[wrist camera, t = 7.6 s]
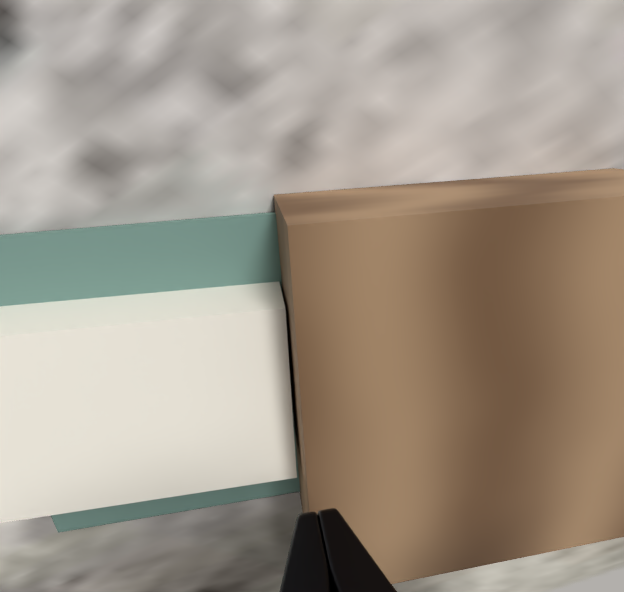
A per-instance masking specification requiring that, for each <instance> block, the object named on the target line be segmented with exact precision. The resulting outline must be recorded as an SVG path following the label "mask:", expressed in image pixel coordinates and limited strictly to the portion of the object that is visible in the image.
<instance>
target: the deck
mask: <svg viewBox="0 0 624 592" xmlns="http://www.w3.org/2000/svg"><path fill="white" fill-rule="evenodd" d="M274 204H275V213H276V220H277V232H278V243H279V255H280V266H281V278H282V289H283V300H284V304H285V310H286V325H287V339H288V354H289V369H290V380H291V392H292V403H293V415H294V426H295V438H296V449H297V461H298V472H299V483H300V497H301V504H302V510H303V513H307V512H312V511H314V512H316V513H318V511H320V510H324V509H330V508H336V509H337V510H338V511H339V512H340V514H341V515H342V516H343V518H344V519H345V521H346V522H347V523H348V525H349V526H350V528H351V529H352V530H353V532H354V533H355V534H356V536H357V537H358V539H359V540H360V541H361V543H362V544H363V546H364V547H365V548H366V550H367V551H368V553H369V554H370V555H371V557H372V558H373V559H374V561H375V562H376V564H377V565H378V566H379V568H380V569H381V571H382V572H383V573H384V575H385V576H386V577H387V579H388V580H389V582H390V583H391V584H394V583H399V582H404V581H409V580H414V579H419V578H424V577H429V576H434V575H439V574H443V573H448V572H453V571H458V570H463V569H468V568H473V567H478V566H483V565H487V564H492V563H497V562H502V561H507V560H512V559H517V558H522V557H527V556H532V555H536V554H541V553H546V552H551V551H556V550H561V549H566V548H571V547H576V546H581V545H585V544H590V543H595V542H600V541H605V540H610V539H615V538H620V537H624V170H623V169H614V168H613V169H600V170H587V171H574V172H561V173H548V174H536V175H523V176H510V177H497V178H484V179H471V180H458V181H445V182H432V183H419V184H407V185H394V186H381V187H368V188H355V189H342V190H329V191H316V192H303V193H290V194H278V195H274Z"/></svg>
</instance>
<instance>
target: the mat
mask: <svg viewBox="0 0 624 592" xmlns="http://www.w3.org/2000/svg"><path fill="white" fill-rule="evenodd" d="M268 282H279V283H280V287H281V291H282V296H283V289H282V278H281V266H280V255H279V243H278V232H277V220H276V213H275V212H270V213H258V214H246V215H234V216H222V217H210V218H198V219H186V220H174V221H162V222H149V223H137V224H125V225H113V226H101V227H89V228H77V229H65V230H53V231H41V232H29V233H17V234H5V235H0V306H10V305H21V304H32V303H44V302H55V301H66V300H77V299H89V298H100V297H111V296H122V295H133V294H145V293H156V292H167V291H178V290H189V289H201V288H212V287H223V286H234V285H245V284H257V283H268ZM290 383H291V380H290ZM291 398H292V392H291ZM292 412H293V403H292ZM293 427H294V442H295V456H296V471H297V478H292V479H285V480H279V481H272V482H266V483H259V484H253V485H246V486H240V487H233V488H227V489H220V490H214V491H207V492H200V493H194V494H187V495H181V496H174V497H168V498H161V499H155V500H148V501H142V502H135V503H129V504H122V505H116V506H109V507H103V508H96V509H90V510H83V511H77V512H70V513H64V514H57V515H51V517H52V519H53V522H54V524H55V526H56V528H57V531H58V532H64V531H70V530H76V529H82V528H87V527H93V526H99V525H105V524H111V523H117V522H123V521H129V520H135V519H140V518H146V517H152V516H158V515H164V514H170V513H176V512H182V511H188V510H194V509H199V508H205V507H211V506H217V505H223V504H229V503H235V502H241V501H247V500H252V499H258V498H264V497H270V496H276V495H282V494H288V493H294V492H300V483H299V472H298V461H297V449H296V438H295V426H294V415H293Z"/></svg>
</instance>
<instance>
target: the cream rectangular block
mask: <svg viewBox="0 0 624 592" xmlns="http://www.w3.org/2000/svg"><path fill="white" fill-rule="evenodd" d="M292 478H297V471H296V456H295V442H294V427H293V412H292V398H291V383H290V369H289V354H288V339H287V325H286V310H285V304H284V300H283V296H282V291H281V287H280V283H279V282H268V283H257V284H245V285H234V286H223V287H212V288H201V289H189V290H178V291H167V292H156V293H145V294H133V295H122V296H111V297H100V298H89V299H77V300H66V301H55V302H44V303H32V304H21V305H10V306H0V523H5V522H11V521H18V520H24V519H31V518H37V517H44V516H51V515H57V514H64V513H70V512H77V511H83V510H90V509H96V508H103V507H109V506H116V505H122V504H129V503H135V502H142V501H148V500H155V499H161V498H168V497H174V496H181V495H187V494H194V493H200V492H207V491H214V490H220V489H227V488H233V487H240V486H246V485H253V484H259V483H266V482H272V481H279V480H285V479H292Z"/></svg>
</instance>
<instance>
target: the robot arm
mask: <svg viewBox="0 0 624 592" xmlns="http://www.w3.org/2000/svg"><path fill="white" fill-rule="evenodd" d="M280 592H397V591H396V590H395V589H394V587H393V586H392V584H391V583H390V582H389V580H388V579H387V577H386V576H385V575H384V573H383V572H382V571H381V569H380V568H379V566H378V565H377V564H376V562H375V561H374V559H373V558H372V557H371V555H370V554H369V553H368V551H367V550H366V548H365V547H364V546H363V544H362V543H361V541H360V540H359V539H358V537H357V536H356V534H355V533H354V532H353V530H352V529H351V528H350V526H349V525H348V523H347V522H346V521H345V519H344V518H343V516H342V515H341V514H340V512H339V511H338V510H337V509H336V508H330V509H324V510H320V511H318V513H316V512H314V511H312V512H307V513H301V514H299V515H298V517H297V520H296V524H295V528H294V533H293V537H292V541H291V545H290V550H289V554H288V558H287V563H286V567H285V571H284V576H283V580H282V584H281V589H280Z"/></svg>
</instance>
